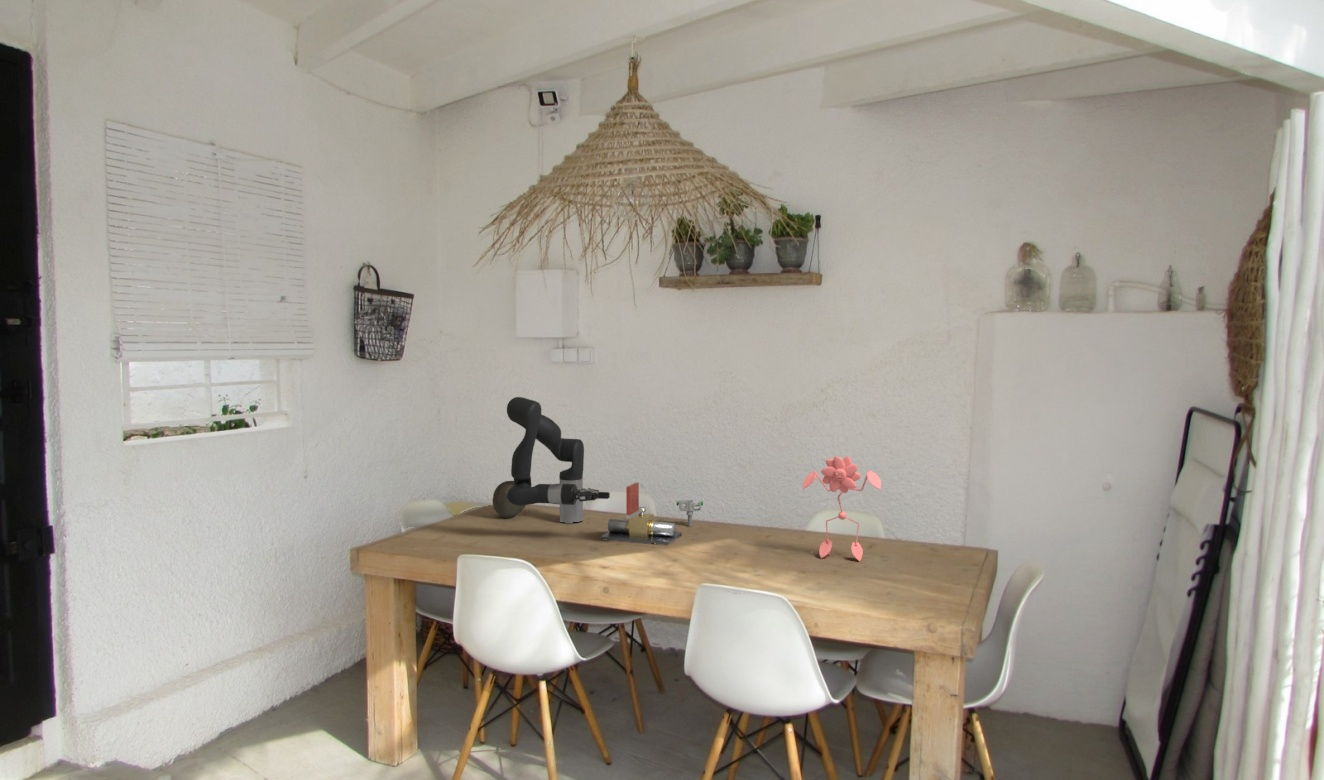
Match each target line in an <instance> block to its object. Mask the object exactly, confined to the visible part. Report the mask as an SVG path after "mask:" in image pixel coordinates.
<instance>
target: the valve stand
mask: <svg viewBox="0 0 1324 780" xmlns="http://www.w3.org/2000/svg"><path fill="white" fill-rule="evenodd" d="M654 516H655V514H654V513H645V512H641V513H639V514H638V515H636V516H634V517H632V518H630V519H629V518H626V519H623V518H613V517H612V518H609V519H608V522H607V529H608V530H607V532H605V533H604V534H602V535H600V540H601V539H607V540H606V541H610V540H619V541H618V542H622V541H631V542H630V543H634V542H644V543H643V544H646V543H656V544H655V545H658V544H667V545H666V546H669V545H671V544H672V543H673V542H675V541H676V540H677V539H679V538H680V537H681V536H680V535H683V532H682V531H677V525H676V523H675V522H665V521H657V520H656V519H655V517H654ZM679 536H680V537H679ZM678 537H679V538H678ZM676 538H677V539H676ZM675 539H676V540H675ZM674 540H675V541H674ZM672 541H673V542H672ZM671 542H672V543H671ZM670 543H671V544H670ZM668 544H669V545H668Z"/></svg>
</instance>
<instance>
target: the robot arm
mask: <svg viewBox="0 0 1324 780" xmlns="http://www.w3.org/2000/svg"><path fill="white" fill-rule="evenodd" d="M506 414H507V417H508V418H509V421H512V422H513V423H516V424H517V425H519V426H520V427H522V428H524V430H525V433H524V436H523V438H522V440H521V441H520V443H519V444H518V445H517V446H516V448H515V450H514V451H513V454H512V457H511V466H510V467H511V468H510V472H511V473H510V474H511V477H512V478H513V481H514V483H513V486H512V487H511V488H510V489H509V491H508V493H507V499H508V501H509V502H510V503H512V504H514V505H519V506H521V505H526V506H528V505H529V506H530V505H535V504H551V505H558V506H559V523H560V522H565V523H564V524H574V523H573V522H579V521H582V520H583V521H584V503H583V502H589V501H591V502H592V501H595V500H608V499H610V496H611V495H610V491H600V490H598V489H594V488H590V487H589V488H584V487H583V484H584V482H583V479H584V478H583V475H584V465H585V464H584V459H585V445H584V442H583V440H581V439H578V438H563V437H562V430H561V427H560V426H559V425H558V424H557V423H556V422H555V421H554V420H553V419H551V418H550V417H548V416H545V415H543V414H542V406H541V403H539V402H538V401H536V400H533V399H529V398H526V397H522V396H516V397H513V398H511V399H510V400H509V402H508V403H507V404H506ZM536 441H538V442H540V444H541V445H543V446H544V447H545V448H547V449H548V450H549V451H550V453H552V455H553V457H555V458H556V460H558V461H560V462H567V463H571V466H570V467H569V468H567V469H564V470H561V471H560V472H559V479H558V480H559V483H538V484H536V485H534V486H532V477H531V471H532V463H533V461H532V460H533V453H534V452H533V451H534V447H535V443H536ZM583 521H582V522H583ZM579 523H580V522H579Z"/></svg>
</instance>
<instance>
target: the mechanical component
mask: <svg viewBox="0 0 1324 780" xmlns="http://www.w3.org/2000/svg"><path fill="white" fill-rule="evenodd" d="M683 505H685V506H683ZM703 505H704V501H701V500H699V501H698V503H697V504H695V503H694V500H693V499H692V500H691V499H690V500H688V499H687V500H686V499H685V500H683V499H680V500H678V501H676V506H678V509H679V511H681V512H686V515H687V527H688V526H691V527H692V525H693V522H692V519H693V518H692V517H693V515H694V513H693V512H699V511H701V510H702V506H703ZM694 507H695V508H694ZM697 507H698V508H697Z"/></svg>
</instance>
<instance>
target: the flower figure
mask: <svg viewBox="0 0 1324 780" xmlns="http://www.w3.org/2000/svg"><path fill="white" fill-rule="evenodd" d="M825 464H826V467H824V468H822V470H820V473H821V474H822V475H823V478H821V477H820V476H819V474H818V473H817V470H813V472H810V473H809V474H808V475H807V476H806V477H805V478H804V480H803V482H802V489H803V490H805V489H807V488H808V487H810V486H811V485H812V484H813V483H814V481H815V480H816V477H817V479H818V480H819V481H820V483H821V484H822V485H823V487H824V488H825V489H826V490H827V492H832V493H835V492H837V491H838V490H840V492H839V494H838V495H837V502H838V505H839V508H840V511H839V512H838V515H837V516H835V517H833V518H830V519H827V520H826V521H825V528H826V539H824V540H823V541H822V542H821V544H820V545H819V549H818V551H819V558H820V559H823V558H824V557H826V556H831V550H832V547H833V541H832V540H831V539H830V538H829V532H828V531H829V530H828V522H830V521H833V520H835V519H839V520H841V521H844V520H846V519H847V520H849V521H851V522H853V523H856V524H857V529H856V538H855V541H853V542H852V543H851V547H850V551H851V553H852V556H853V557H854V558H855V559H856V560H858V562H861V560H862V557H863V555H864V554H863V553H864V550H863V547H862V546H861V544H860V543H859V542H858V537H859V529H860V522H858V521H855V520H853V519H852V518H849V517H847V513H846V511H843V506H842V504H841V499H840V497H841V495H842V494H847V493H848V491H849V490H850V491H851V490H852V491H855V492H863V490H864V487H865V485H866V482H867V480H868V482H869V484H870V485H871V486H873V487H874V488H875V489H877V490H881V489H882V480H881V478H880V476H879V475H878V474H877V473H875V472H874V471H871V470H870V469H867V472H866V476H865V478H864V481H863V483H862V486H861V489H860V488H857V483H856V481H858V480H859V479H861V477H862V475H861V473H859V472H857V471H858V465H857V464H856V463H854V464H853V460H852V458H851V457H850V456H845V457H844V458H841V457H839V456H837V455H836V456H834V457H833V459H832V458H827V459H825ZM828 484H829V488H828V487H827V485H828ZM812 553H813V551H811V552H810V554H812Z"/></svg>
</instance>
